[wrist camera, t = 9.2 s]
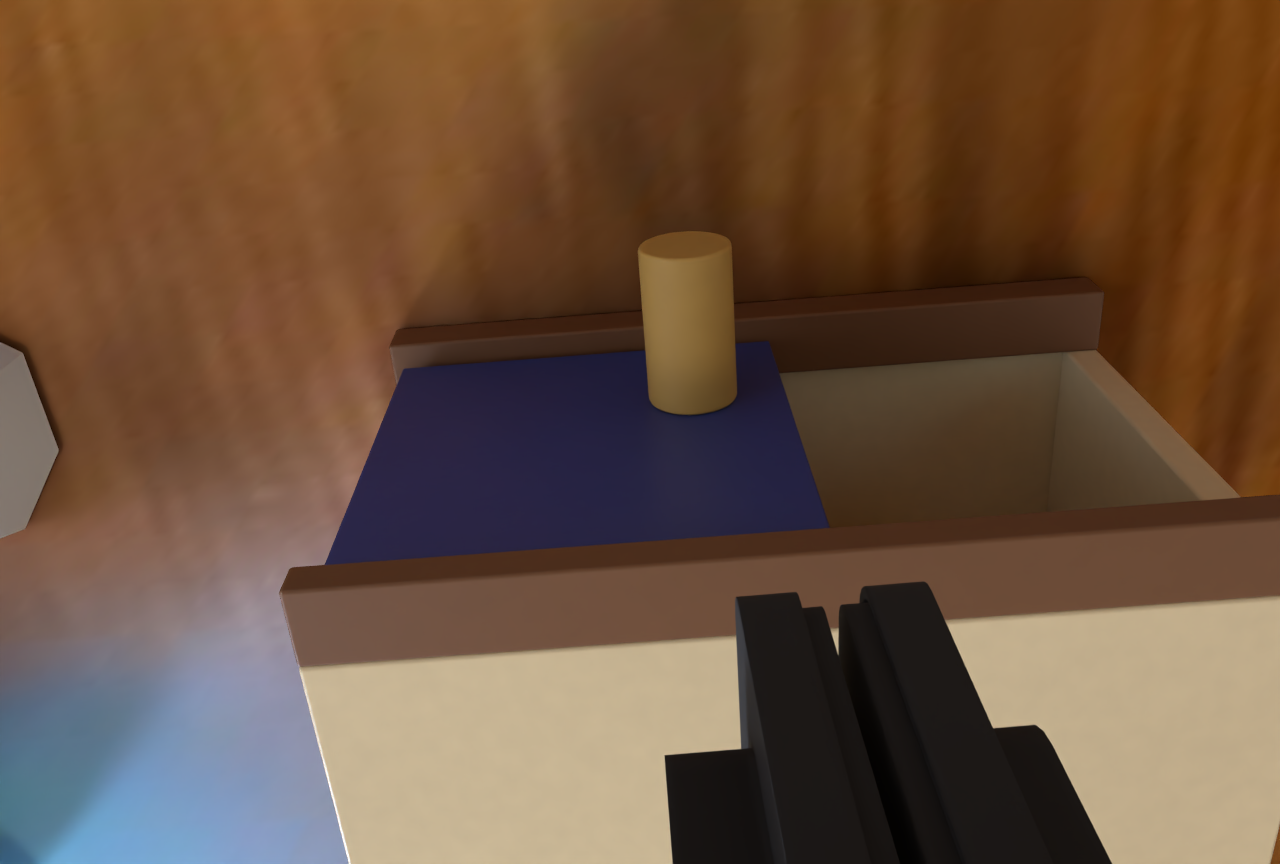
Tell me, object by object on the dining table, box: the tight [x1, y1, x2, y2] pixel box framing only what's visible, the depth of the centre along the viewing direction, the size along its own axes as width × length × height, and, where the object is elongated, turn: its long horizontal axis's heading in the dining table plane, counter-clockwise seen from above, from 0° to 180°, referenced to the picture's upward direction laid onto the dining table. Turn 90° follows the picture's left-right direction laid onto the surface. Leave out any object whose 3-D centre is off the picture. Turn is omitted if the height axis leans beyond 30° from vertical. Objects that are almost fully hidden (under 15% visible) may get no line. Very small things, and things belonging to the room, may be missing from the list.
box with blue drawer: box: [279, 277, 1280, 864], centre depth 27 cm, size 12×18×12 cm, turn 94°
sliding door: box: [325, 231, 830, 565], centre depth 24 cm, size 4×9×9 cm, turn 94°
